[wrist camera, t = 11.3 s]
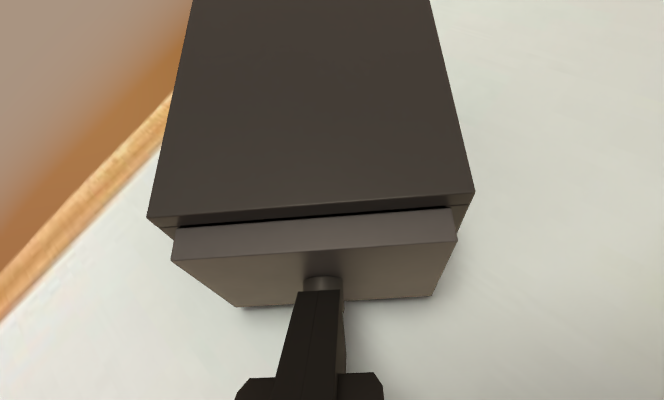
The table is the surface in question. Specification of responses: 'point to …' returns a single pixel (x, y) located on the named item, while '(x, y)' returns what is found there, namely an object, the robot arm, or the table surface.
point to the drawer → (320, 255)
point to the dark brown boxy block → (309, 114)
